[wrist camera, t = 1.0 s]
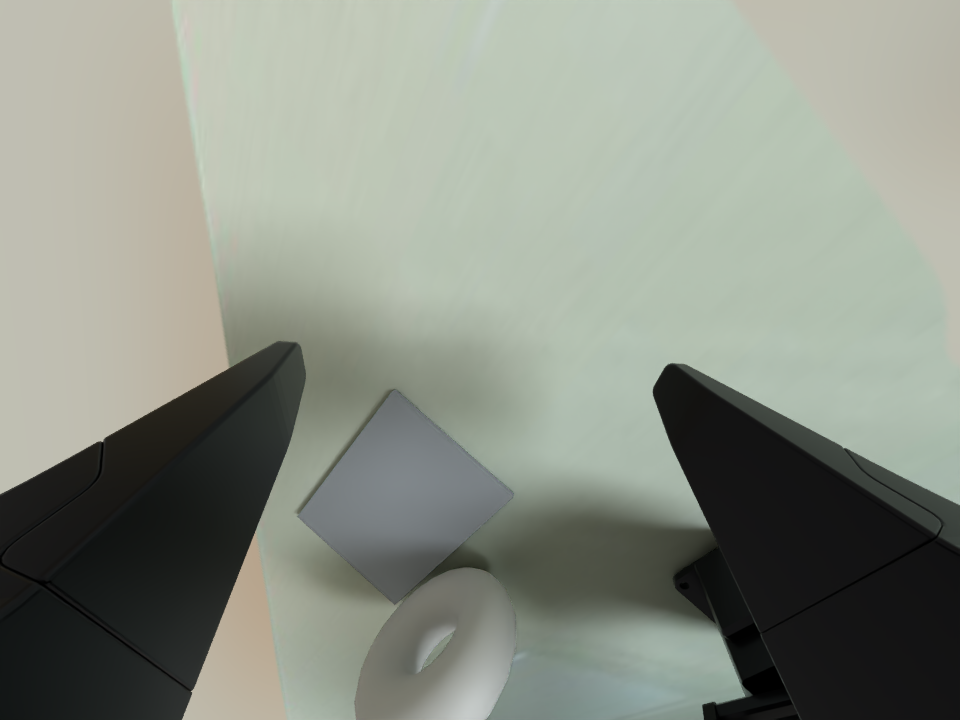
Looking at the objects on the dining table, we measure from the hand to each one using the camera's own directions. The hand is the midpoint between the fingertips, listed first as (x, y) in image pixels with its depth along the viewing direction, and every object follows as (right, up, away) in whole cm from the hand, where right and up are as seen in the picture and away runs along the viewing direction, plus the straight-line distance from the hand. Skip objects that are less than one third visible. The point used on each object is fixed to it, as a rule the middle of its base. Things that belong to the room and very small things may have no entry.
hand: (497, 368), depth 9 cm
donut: (-2, -15, +17) cm, 22 cm away
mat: (-6, -10, +16) cm, 20 cm away
